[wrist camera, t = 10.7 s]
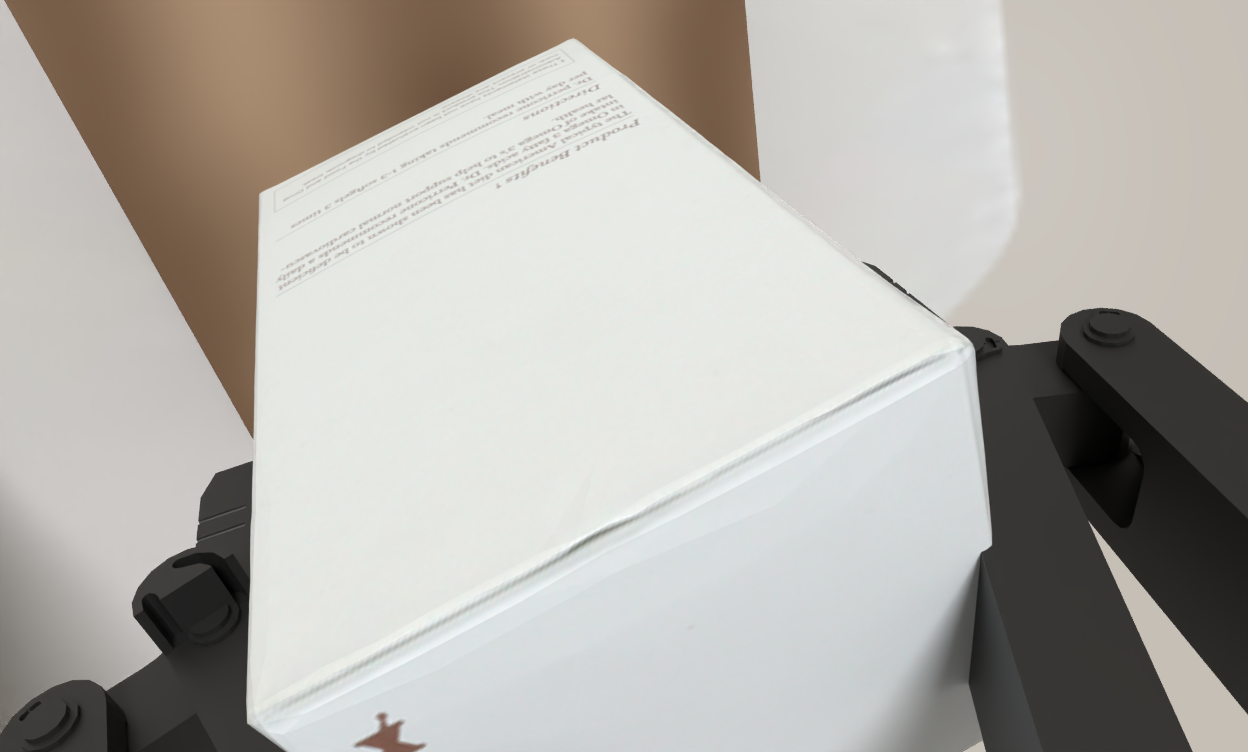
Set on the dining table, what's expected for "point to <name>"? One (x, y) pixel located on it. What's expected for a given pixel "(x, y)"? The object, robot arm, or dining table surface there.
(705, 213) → the supplement box
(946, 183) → the dining table surface
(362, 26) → the walnut block
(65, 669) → the dining table surface
